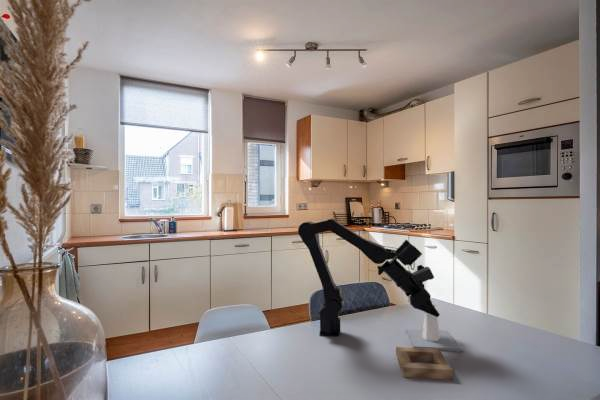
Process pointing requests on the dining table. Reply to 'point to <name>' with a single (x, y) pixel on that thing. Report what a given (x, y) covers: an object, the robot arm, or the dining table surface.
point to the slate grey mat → (443, 344)
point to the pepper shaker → (430, 327)
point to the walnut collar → (419, 370)
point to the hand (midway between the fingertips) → (435, 311)
